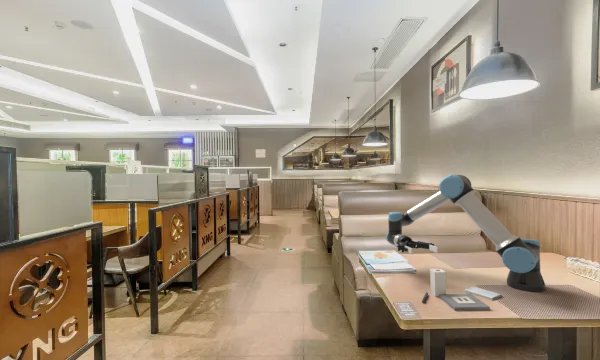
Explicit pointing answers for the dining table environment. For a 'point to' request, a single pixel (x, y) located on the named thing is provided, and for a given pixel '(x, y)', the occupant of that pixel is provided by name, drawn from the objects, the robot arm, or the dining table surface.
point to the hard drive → (483, 293)
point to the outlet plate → (463, 302)
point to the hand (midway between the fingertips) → (424, 250)
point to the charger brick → (438, 282)
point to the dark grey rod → (425, 297)
